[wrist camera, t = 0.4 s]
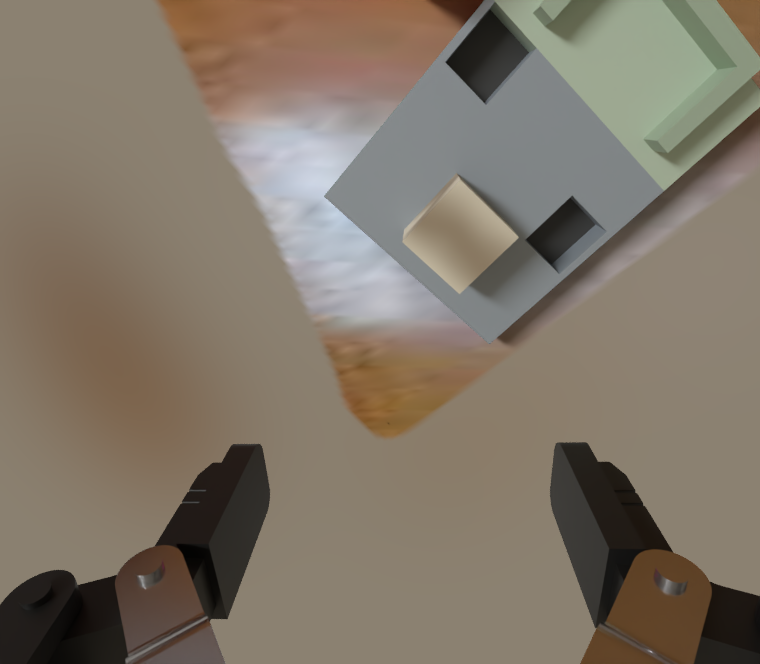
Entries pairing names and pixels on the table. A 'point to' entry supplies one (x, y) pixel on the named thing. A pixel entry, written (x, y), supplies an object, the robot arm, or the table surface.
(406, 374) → the table surface
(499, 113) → the board
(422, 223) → the birch block
